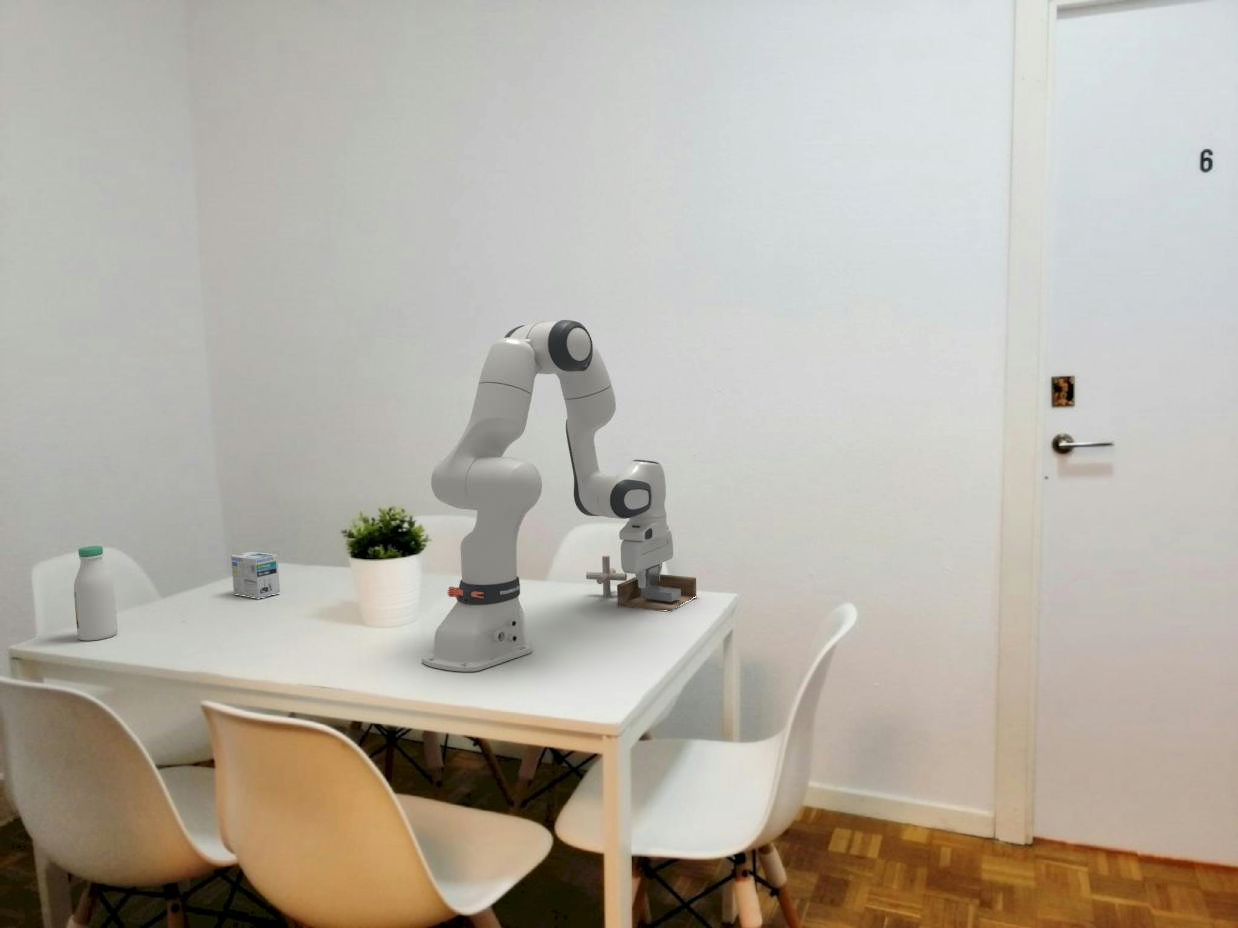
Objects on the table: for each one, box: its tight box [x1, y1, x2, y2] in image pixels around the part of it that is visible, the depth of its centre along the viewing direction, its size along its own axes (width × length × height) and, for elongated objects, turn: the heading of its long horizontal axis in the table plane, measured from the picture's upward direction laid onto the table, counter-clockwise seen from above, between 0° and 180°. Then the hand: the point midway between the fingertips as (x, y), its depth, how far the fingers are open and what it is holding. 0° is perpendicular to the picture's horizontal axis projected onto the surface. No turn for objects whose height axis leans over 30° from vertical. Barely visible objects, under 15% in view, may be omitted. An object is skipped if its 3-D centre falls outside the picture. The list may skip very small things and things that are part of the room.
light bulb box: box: [230, 551, 281, 598], centre depth 234 cm, size 11×7×11 cm, turn 58°
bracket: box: [641, 565, 681, 602], centre depth 214 cm, size 8×5×7 cm, turn 60°
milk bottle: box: [73, 545, 119, 642], centre depth 199 cm, size 8×8×20 cm
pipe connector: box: [585, 555, 628, 598], centre depth 223 cm, size 10×10×10 cm
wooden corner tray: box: [616, 573, 697, 612], centre depth 216 cm, size 14×14×5 cm
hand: (649, 584), depth 216 cm, fingers closed on bracket, 5 cm apart
